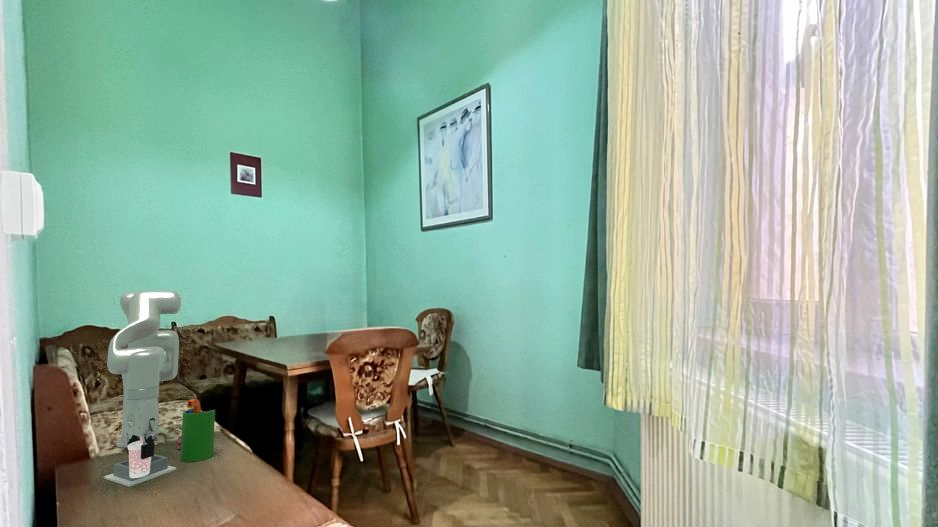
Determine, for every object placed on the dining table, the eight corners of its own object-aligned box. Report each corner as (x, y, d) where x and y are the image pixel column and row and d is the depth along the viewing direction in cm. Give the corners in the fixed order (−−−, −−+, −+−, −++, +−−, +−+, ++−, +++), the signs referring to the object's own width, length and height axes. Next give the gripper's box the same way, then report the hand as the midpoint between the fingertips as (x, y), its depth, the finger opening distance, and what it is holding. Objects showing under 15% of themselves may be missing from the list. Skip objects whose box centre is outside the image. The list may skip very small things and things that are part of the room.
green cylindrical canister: (219, 452, 148) (221, 395, 149) (201, 462, 139) (203, 401, 140) (193, 451, 149) (195, 394, 150) (173, 461, 140) (175, 401, 141)
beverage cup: (141, 479, 118) (143, 429, 119) (120, 479, 118) (122, 429, 119) (158, 470, 124) (159, 422, 125) (137, 469, 125) (140, 422, 125)
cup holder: (103, 478, 128) (104, 465, 128) (150, 462, 139) (151, 450, 140) (129, 486, 122) (130, 472, 122) (176, 469, 134) (176, 456, 134)
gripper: (112, 393, 123) (109, 455, 122) (145, 399, 116) (142, 466, 115) (140, 387, 130) (138, 446, 129) (174, 393, 122) (171, 455, 121)
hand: (140, 454), depth 122 cm, fingers closed on beverage cup, 6 cm apart
